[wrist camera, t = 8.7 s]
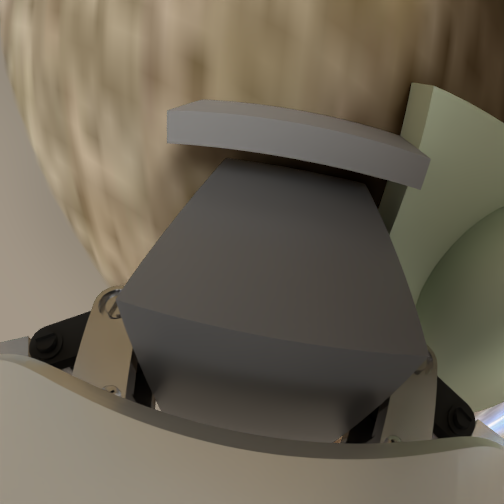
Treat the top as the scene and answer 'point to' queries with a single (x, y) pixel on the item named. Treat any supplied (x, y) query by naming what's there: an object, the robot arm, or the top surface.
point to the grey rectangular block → (274, 306)
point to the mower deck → (407, 209)
